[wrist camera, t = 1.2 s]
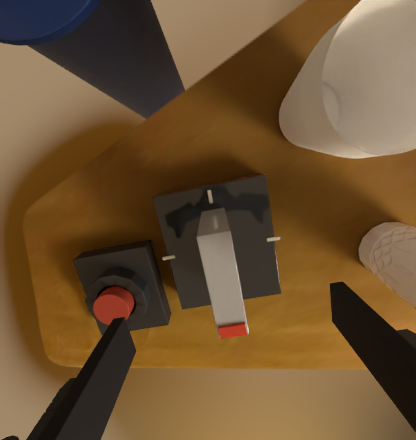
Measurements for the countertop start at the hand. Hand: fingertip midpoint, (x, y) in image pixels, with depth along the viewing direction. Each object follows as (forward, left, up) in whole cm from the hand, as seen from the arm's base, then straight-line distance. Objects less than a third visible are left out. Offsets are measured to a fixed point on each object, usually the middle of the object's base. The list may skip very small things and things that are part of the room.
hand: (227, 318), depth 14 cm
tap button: (+4, -13, -14) cm, 20 cm away
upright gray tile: (0, 0, -11) cm, 11 cm away
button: (+4, -13, -11) cm, 17 cm away
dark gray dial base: (0, 0, -14) cm, 14 cm away
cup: (-12, +12, -14) cm, 22 cm away
